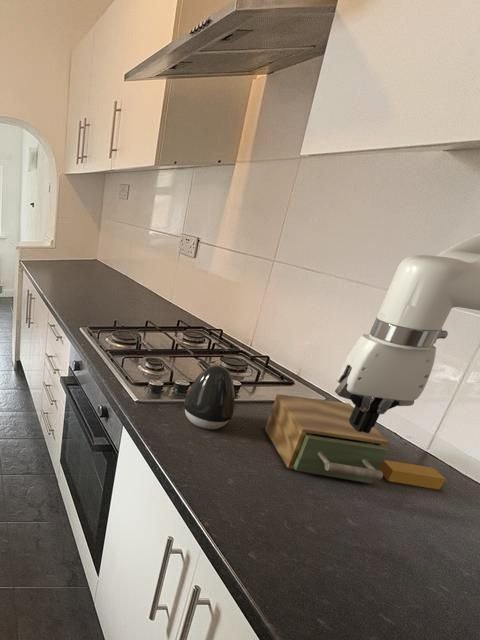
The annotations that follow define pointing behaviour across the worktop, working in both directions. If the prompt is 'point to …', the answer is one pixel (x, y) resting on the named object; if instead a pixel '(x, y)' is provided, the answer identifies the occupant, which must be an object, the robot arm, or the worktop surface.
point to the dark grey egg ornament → (210, 398)
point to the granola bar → (411, 474)
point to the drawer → (340, 458)
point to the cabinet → (311, 424)
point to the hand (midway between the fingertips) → (358, 428)
